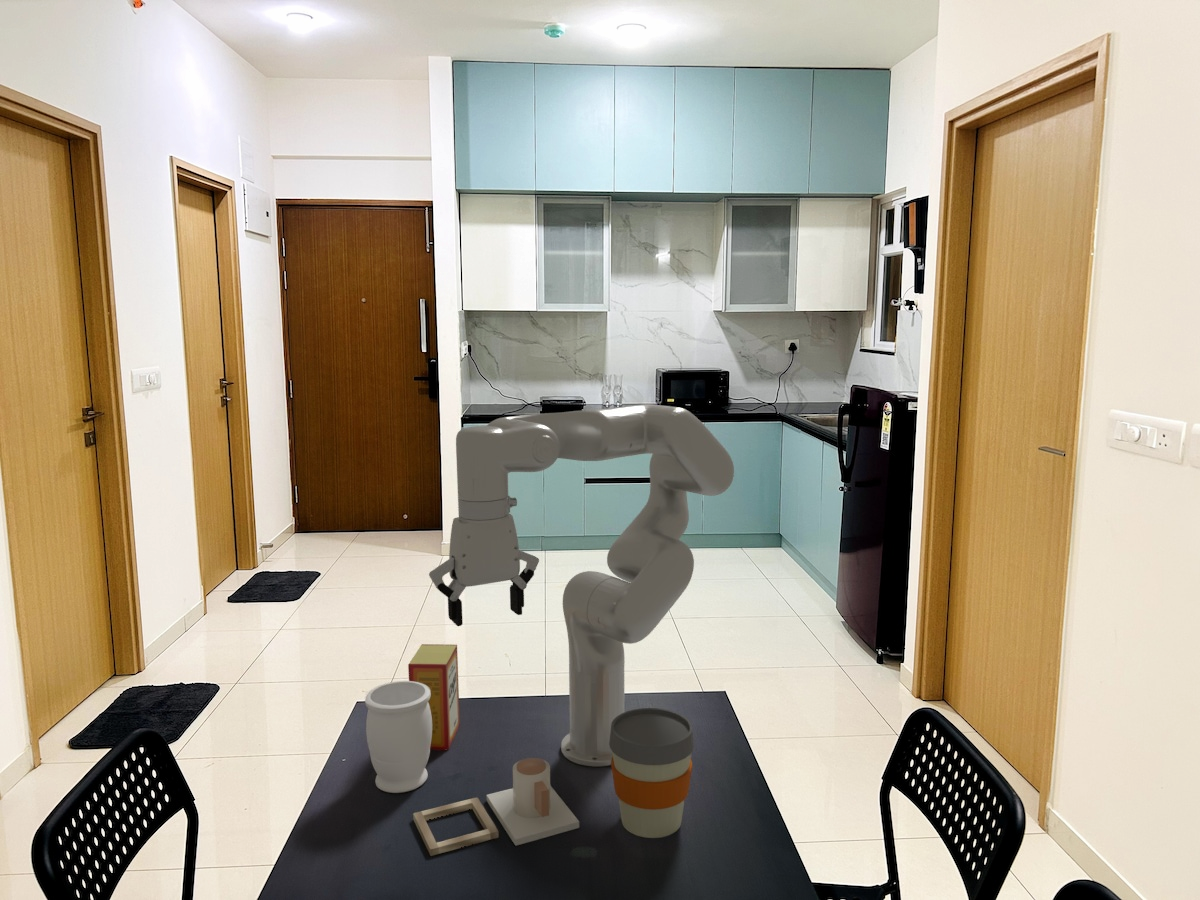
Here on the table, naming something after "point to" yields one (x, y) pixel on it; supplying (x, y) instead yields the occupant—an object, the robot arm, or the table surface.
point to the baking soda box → (439, 689)
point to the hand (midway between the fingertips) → (487, 617)
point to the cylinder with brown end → (531, 788)
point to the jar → (399, 734)
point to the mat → (531, 828)
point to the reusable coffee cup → (651, 769)
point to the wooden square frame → (459, 841)
